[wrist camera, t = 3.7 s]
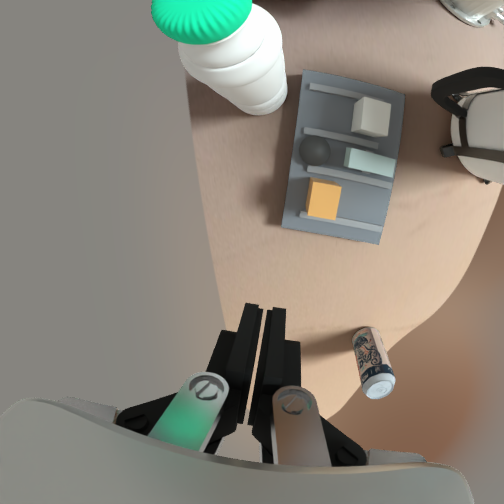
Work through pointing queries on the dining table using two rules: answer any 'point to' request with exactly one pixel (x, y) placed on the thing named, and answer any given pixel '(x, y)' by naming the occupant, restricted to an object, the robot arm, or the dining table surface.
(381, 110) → the ivory fader
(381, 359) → the beer can
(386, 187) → the panel
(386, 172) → the block
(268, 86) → the water bottle
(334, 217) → the orange fader
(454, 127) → the coffee press
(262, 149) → the dining table surface
